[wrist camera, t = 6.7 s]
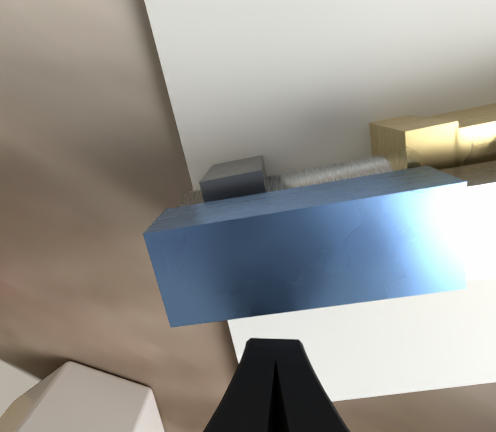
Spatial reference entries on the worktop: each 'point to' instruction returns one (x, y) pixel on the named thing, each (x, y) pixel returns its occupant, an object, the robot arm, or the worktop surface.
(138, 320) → the worktop surface
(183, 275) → the lever
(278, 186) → the valve
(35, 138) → the worktop surface
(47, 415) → the jar
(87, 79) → the worktop surface
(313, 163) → the board
